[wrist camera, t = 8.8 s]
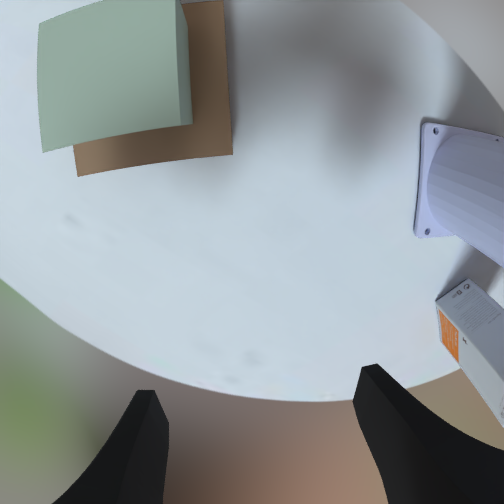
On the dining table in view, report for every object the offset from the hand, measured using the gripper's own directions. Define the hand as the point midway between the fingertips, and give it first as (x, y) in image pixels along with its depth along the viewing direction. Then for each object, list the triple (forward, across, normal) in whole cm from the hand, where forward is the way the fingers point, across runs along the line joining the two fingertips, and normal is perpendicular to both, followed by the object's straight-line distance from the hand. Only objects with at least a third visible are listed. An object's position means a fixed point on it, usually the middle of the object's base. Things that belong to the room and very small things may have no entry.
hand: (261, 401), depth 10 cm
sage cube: (+8, +4, -11) cm, 14 cm away
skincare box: (+11, -19, +7) cm, 23 cm away
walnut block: (+11, +4, -11) cm, 16 cm away
